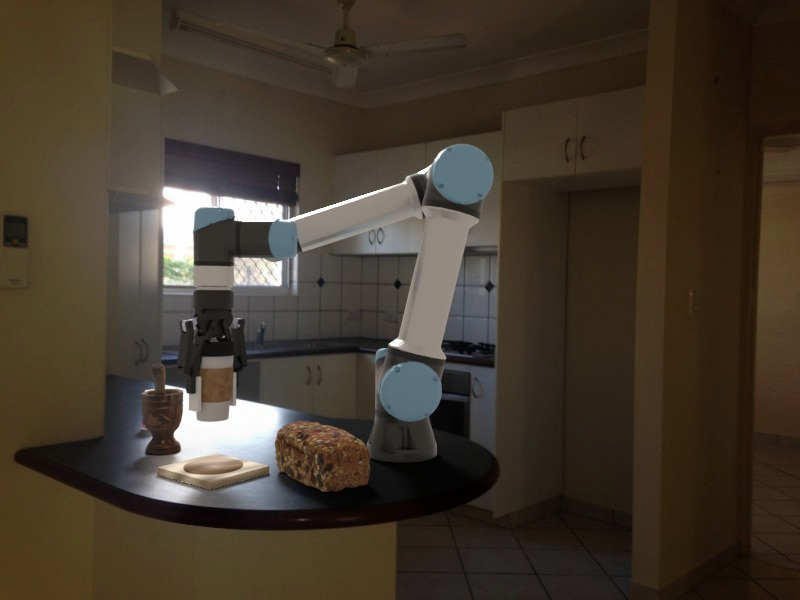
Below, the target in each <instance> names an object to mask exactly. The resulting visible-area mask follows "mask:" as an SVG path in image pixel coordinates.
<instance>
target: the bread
mask: <svg viewBox="0 0 800 600" xmlns="http://www.w3.org/2000/svg"><path fill="white" fill-rule="evenodd" d="M274 447H275V452H274V453H275V460H276V462H277V463H276V466H277V469H278V471H279V472H280V474H283V473H284V474H286V475H287V476H288V477H289V478H291V479H293V480H295V481H297V482H300V483H301V484H303V485H305V486H306V487H307V486H308V487H312V488H314V489H318V490H320V491H321V493H323V492H325V493H329V492H340V491H342V490H343V489H345V488H358V487H360V486H361V487H364V486H366V485H368V483H369V478H370V474H371V465H370V461H371V458H370V452H369V449H368V448H367V444H365V443H364V441H363V440H361V439H359V438H357V437H355V436H354V435H353V434H351V433H349V432H348V431H346V430H344V429H342V428H339V427H334V425H328V424H325V425H324V424H321V423H320V422H317V421H315V422H311V421H308V420H304V421H303V420H299V421H293V422H291V423H288V424H287V423H286V424H284V425H283V426H282V427H281V428H280V429H279V430H278V431H277V433H276V438H275V440H274Z"/></svg>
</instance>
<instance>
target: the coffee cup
mask: <svg viewBox="0 0 800 600" xmlns="http://www.w3.org/2000/svg"><path fill="white" fill-rule="evenodd" d="M193 345H194V342H193ZM195 345H196V346H198V345H199V344H195ZM235 352H236V351H235V346H234V341H230V342H220V343H219V341H210V342H209V343H208V344H203V347H202V352H201V355H200V357H202V363H201V366H200V369H199V372H198V375H197V376H201V411H200V412H196V411H195V414H196V416H195V417H196V420H197V421H199V422H207V423H211V422H213V423H214V422H217V423H218V422H222V421H227V420H228V419H229V418H230V417H229V415H230V407H231V406H230V397H231V388H232V379H233V369H234V366H233V357H234V355H236V354H235Z"/></svg>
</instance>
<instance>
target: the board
mask: <svg viewBox="0 0 800 600" xmlns="http://www.w3.org/2000/svg"><path fill="white" fill-rule="evenodd" d="M156 475H157V476H159V477H162V476H164V478H166V477H167V479H169V478H172V479H171V480H173V479H175V480H174V481H176V480H179V481H183V482H187V483H190V484H193V485H196V486H199V487H198V488H200V487H202V488H201V489H203V488H206V489H205V490H207V489H209V490H208V491H212V490H211V489H213V490H216V489H215V488H217V489H220V488H223V487H222V486H224V487H226V486H225V485H227V486H230V485H229V484H231V485H233V484H232V483H234V484H236V483H235V482H238V483H240V482H239V481H241V482H243V481H242V480H245V481H247V480H246V479H248V480H251V478H252V479H255V478H259V477H262V475H263V476H266V475H270V465H267V464H262V463H259V462H255V461H251V460H247V459H243V458H238V457H233V456H230V455H225V454H220V453H217V452H216V453H212V454H209V455H208V454H207V455H204V456H200V457H194V458H191V459H187V460H182V461H178V462H174V463H170V464H165V465H160V466H158V467H157V468H156ZM258 476H259V477H258ZM254 477H255V478H254ZM179 481H178V482H179ZM183 482H182V483H183ZM190 484H189V485H190ZM193 485H192V486H193ZM196 486H195V487H196ZM219 487H220V488H219Z"/></svg>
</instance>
